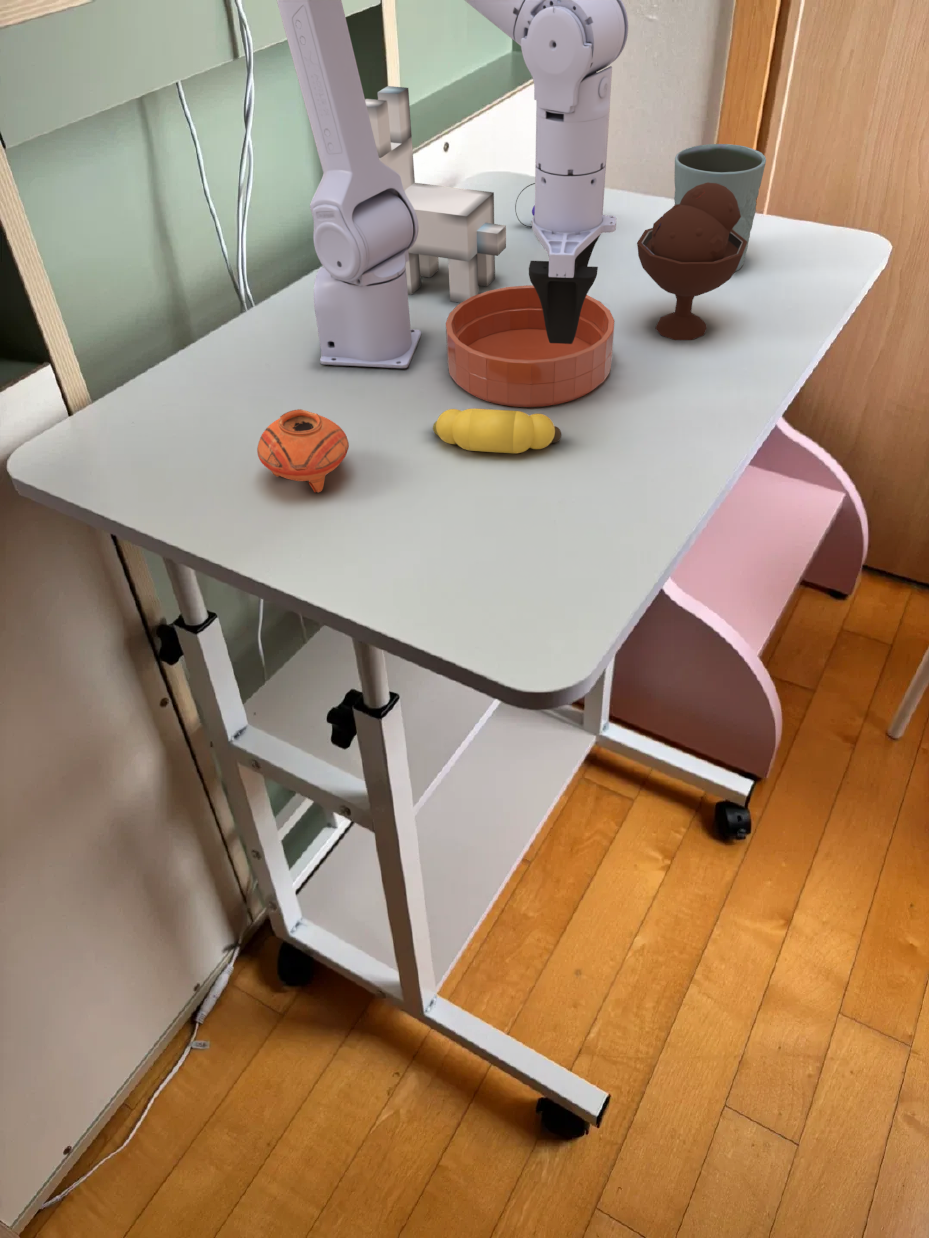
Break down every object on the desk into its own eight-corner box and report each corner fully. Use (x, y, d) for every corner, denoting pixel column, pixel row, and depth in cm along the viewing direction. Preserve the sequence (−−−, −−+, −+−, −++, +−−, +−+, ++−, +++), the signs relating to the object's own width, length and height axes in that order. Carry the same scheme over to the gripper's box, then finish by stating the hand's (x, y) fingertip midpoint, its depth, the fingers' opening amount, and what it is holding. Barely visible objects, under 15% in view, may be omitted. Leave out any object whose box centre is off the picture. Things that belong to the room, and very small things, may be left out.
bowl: (434, 404, 95) (432, 358, 91) (462, 326, 107) (460, 282, 103) (606, 414, 92) (609, 367, 89) (614, 332, 104) (618, 288, 101)
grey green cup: (743, 282, 112) (761, 175, 104) (657, 274, 115) (668, 169, 106) (752, 248, 119) (770, 145, 111) (670, 241, 122) (682, 140, 113)
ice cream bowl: (661, 297, 110) (677, 160, 100) (750, 323, 105) (776, 181, 94) (610, 333, 104) (621, 190, 94) (702, 362, 99) (724, 214, 89)
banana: (426, 456, 88) (423, 420, 85) (435, 430, 91) (432, 394, 89) (557, 464, 86) (558, 428, 84) (561, 437, 90) (563, 401, 87)
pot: (297, 439, 90) (301, 380, 85) (361, 480, 88) (369, 422, 83) (237, 478, 85) (237, 418, 80) (303, 523, 83) (308, 464, 78)
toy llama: (489, 307, 110) (486, 118, 96) (356, 285, 115) (334, 103, 102) (514, 281, 115) (514, 97, 101) (384, 261, 120) (368, 84, 106)
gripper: (617, 198, 72) (605, 362, 81) (623, 136, 82) (611, 288, 92) (523, 196, 73) (522, 359, 82) (541, 135, 83) (538, 286, 92)
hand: (564, 321), depth 87 cm, fingers open, 7 cm apart
